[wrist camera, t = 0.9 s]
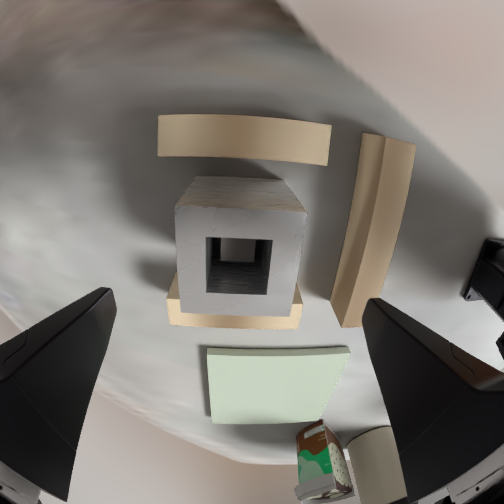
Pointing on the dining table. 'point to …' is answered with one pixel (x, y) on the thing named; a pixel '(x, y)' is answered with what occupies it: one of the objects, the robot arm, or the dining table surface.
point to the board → (272, 383)
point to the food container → (321, 466)
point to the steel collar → (238, 226)
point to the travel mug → (378, 468)
